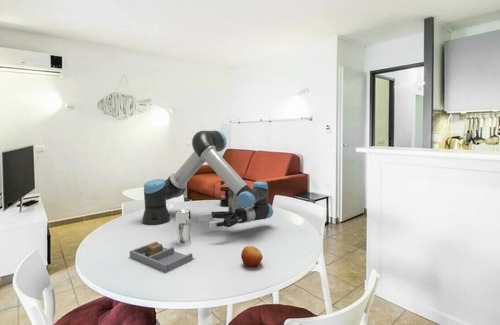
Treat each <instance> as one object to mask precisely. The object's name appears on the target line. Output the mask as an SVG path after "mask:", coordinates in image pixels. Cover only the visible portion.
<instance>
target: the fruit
mask: <svg viewBox="0 0 500 325" xmlns="http://www.w3.org/2000/svg"><path fill="white" fill-rule="evenodd" d="M240 256H241V257H240V258H241V262H242V263H243V264H242V265H243V268H245V267H249V268H257V267H258V266H259V265H260V264H261V263H262V261H263V253H262V252H261V250H260V249H259V248H257V247H255V246H253V245H250V246H248V245H247V246H245V247H243V249H242V251H241V255H240Z"/></svg>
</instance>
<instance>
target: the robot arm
mask: <svg viewBox="0 0 500 325" xmlns="http://www.w3.org/2000/svg"><path fill="white" fill-rule="evenodd" d="M191 145H192V149H193V152H192V153H191V154H190V155H189V157H188V158H187V159H186V160H185V161H184V163H183V164H182V165H181V166H180V167H179V168H178V170H177V171H176V172H175V173H171V174H170V175H169V176H168V178H167V179H166V180H165V179H163V178H157V179H150V180H148V181H146V182H145V183H144V184H143V196H144V212H143V216H142V219H141V220H142V221H141V222H142V224H143V223H144V225H147V224H148V225H149V226H153V225H162V224H165V223H168V222H169V221H171V216H170V212H169V211H168V208H167V201H168V200H171V199H175V198H179V197H181V196H182V195H184V194H185V192H186V191H187V186H188V184H187V183H188V182H189V180H191V178H192V177H193V176H194V175H195V174H196V172H197V171H199V169H200V168H201V167H202V166H203V165H204V164H205V163H207V165H208V166H209V167H210V168H211V169H212V171H214V172H215V173H216V175H217V176H218V177H219V178H220V179H221V181H222V180H223V181H224V182H225V183H224V184H225V185H226V184H227V187H229V188H230V189H231V190H232V191H233V192H234V193H235V195H236V196H237V197H238V198H237V201H238V204H239V205H240V206H241V207H242V208H237V209H236V210H235V212H234V213H233V212H230V211H229V210H227V211H211V212H210V213H205V214H199V215H198V221H199V222H201V221H208V220H213V219H221V220H215V221H211V222H208V229H209V230H211V229H212V230H213V229H217V228H222V227H226V228H230V227H233V226H235V225H237V224H245V223H251V222H255V221H261V220H266V219H270V218H271V217H272V216H273V215H274V209H273V206H272V204H271V203H269V188H268V187H269V185H268V183H267V181H255V182H253V185H252V188H251V187H250V186H249V185H248V183H246V182H245V180H244V179H243V178H242V177H241V176H240V175H239V174H238V172H236V171H235V170H234V168H233V167H232V166H231V165H230V164H229V163H228V162H227V161H226V160H225V159H224V157H222V155H221V154H220V153H219V152H222V151H224V150H225V148H226V146H227V137H226V136H225V134H224V133H223V132H222V131H219V130H216V129H215V130H200V131H197V132H196V133H195V134H194V135H193V137H192V139H191Z"/></svg>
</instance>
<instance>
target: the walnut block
mask: <svg viewBox="0 0 500 325" xmlns="http://www.w3.org/2000/svg"><path fill="white" fill-rule="evenodd" d="M156 242H157V241H154V243H153V242H151V243H148V244H146V245H144V246H145V256H148V257H149V256H151V255H154V254H156V253H159V252H161V251H163V244H162V243H159V242H158V243H156Z"/></svg>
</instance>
